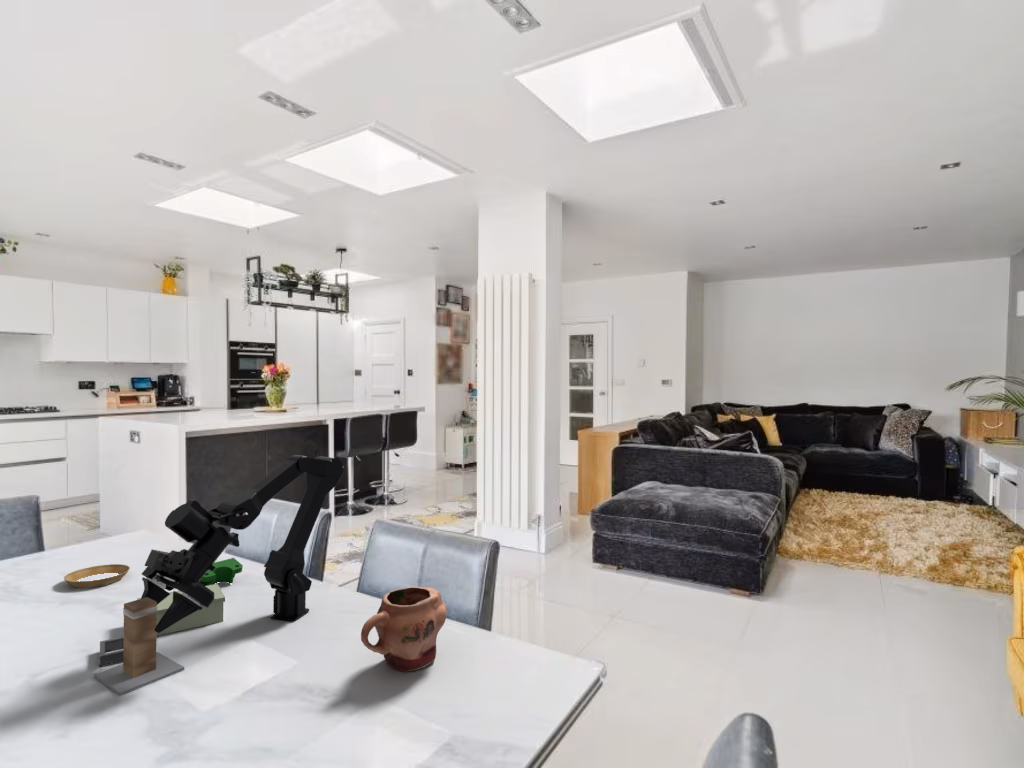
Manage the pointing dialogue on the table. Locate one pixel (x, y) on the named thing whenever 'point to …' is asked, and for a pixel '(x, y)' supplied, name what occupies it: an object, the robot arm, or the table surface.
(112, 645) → the dark grey square frame
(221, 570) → the clamp
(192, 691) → the table surface
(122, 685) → the mat
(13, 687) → the table surface
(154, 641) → the banded wooden block
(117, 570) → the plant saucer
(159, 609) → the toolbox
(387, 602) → the terracotta mug
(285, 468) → the robot arm
